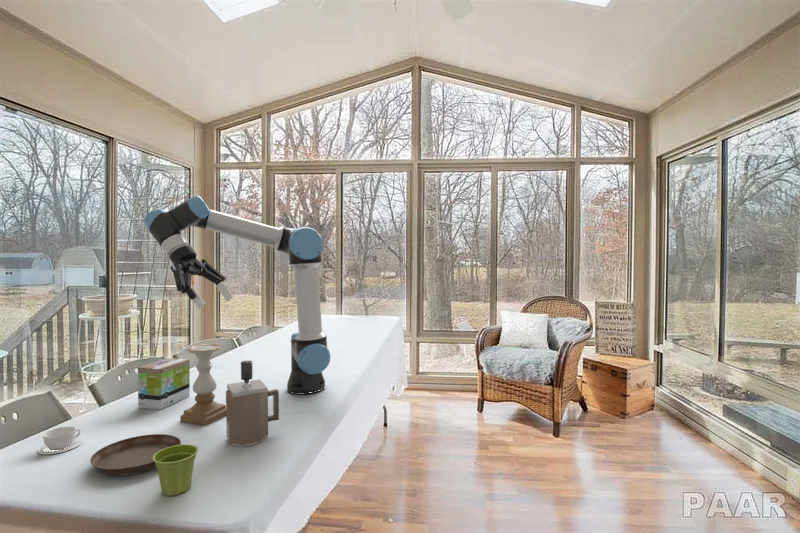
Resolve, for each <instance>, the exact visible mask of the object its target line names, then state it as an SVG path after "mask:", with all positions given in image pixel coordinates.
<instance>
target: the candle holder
mask: <svg viewBox="0 0 800 533" xmlns="http://www.w3.org/2000/svg"><path fill="white" fill-rule="evenodd" d="M220 349H221V345H220V344H217V343H216V344H215V343H204V344H196V345H192V346H188V348H187V349H186V351H187V353H189V354H194V355H195V356H196V358H197V360H198V362H197V364H196V365H195V369H197V372H198V375H197V378H196V379H195V381H194V382H193V384H192V391H193V393H195V394H196V395H195V397H194V401H195V404H192V406H191V407H189V408H187V409H185V410H184V411H183V414H182V415H180V416H179V419H180V420H179V421H180V423H181V422H182V423H186V424H192V425H193V424H194V425H200V426H208V425H211V424H212V423H215V422H216V421H218V420H221V419H222V418H224V417H226V404H223V403H218V402H217V401H215V400H214V399H215V397H216V395H215V393H214V391H215V390H216V389H217V382H216V380H215V379H214V377H213V376H212V374H211V370H212V367H213V365H214V364H213V363H212V362H211V357H212V355H213V354H214V352H218V351H220Z"/></svg>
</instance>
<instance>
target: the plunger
mask: <svg viewBox="0 0 800 533" xmlns="http://www.w3.org/2000/svg"><path fill="white" fill-rule="evenodd" d="M252 379H253V361H252V360H243V361H241V362H240V380H242V381H243V382H244V388H245V387H250V381H251V380H252ZM244 396H245V395H244Z"/></svg>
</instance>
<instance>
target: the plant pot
mask: <svg viewBox="0 0 800 533" xmlns="http://www.w3.org/2000/svg"><path fill="white" fill-rule="evenodd" d="M198 452H199V448H198V447H197V445H194V444H187V443H186V444H181V445H175V446H171V447H167V448H165V449H162V450H160V451H158V452H157V453H155V454H154V456H153V461H154V462H155V464H156V469H157V474H158V479H159V484H160V490H161V493H162V494H163V495H164V496H166V497H169V496H170V497H171V496H177V495H179V494H181V493H186V492H187V491H188V490H189V489H191V486H192V480H193V472H194V464H195V459H196V457H197V454H198Z"/></svg>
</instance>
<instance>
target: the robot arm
mask: <svg viewBox="0 0 800 533" xmlns="http://www.w3.org/2000/svg"><path fill="white" fill-rule="evenodd" d="M208 206H209V205H207V204H206V202H205V201H204V200H203V198H202V197H201V196H200V195H195V196H193V197H191V198H188V199H187V200H186V201H184V202H182V203H180V204H179V205H177V206H175V207H174V208H172V209H169V211H165V210H164V209H162V208H161V209H160V208H157V209H155V210H151V211H150V212H148V213H147V214H146V215H145V216H144V218H143V223H144V224H145V226H146V228H147V230H148V232H149V233H150V234H151V235H152V237H153V238H154V239H155V241H156V242H157V243H158V245H159V246H160V248H161V249H162V250H163V252H164V253H165V254H166V255H167V257H169V260H170V261H171V263H172V265H171V266H170V270H171V272H172V273H173V278H174V282H175V287H176V290H177V291H178V292H181V293H182V294H183V295H184V294H186V295H187V296H188V298H189V299H190V300H192V302H193V304H194V305H195V306H196V307H197V309H198V310H200V309H202V308H203V307H204V306H205V305H206V302H205V300H204V299H203V298H202V296H201V294H200V293H199V292H198V290H196V288H195V287H194V286H192V276H198V277H203V278H204V279H206V280H208V281H209V282H211V283H213V284H215V285H216V289H217V290H218V292H219V293H220V294H221V295H222V296H223V299H225V301H226V302H229V301H230V300H232V299H233V298H234V295H233V293H232V292H231V291H230V290H229V287H227V285H226V284H225V282H224V281H225V280H226V278H227V277H225V276H224V274H222V273H221V272H219V271H218V270H217V269H216V268H215V267H213V266H212V265H211V264H209V262H207V260H206V259H204V258H203V259H201V261H200V260H198V259H197V253H196V251H195V250H194V248H193V247H192V246H191V245H190V243H189V242H188V240H187V239H186V237H185V236H184V235H183V234H182V231H185V230H186V229H187V228H189V227H196V228H200V229H203V230H208V231H212V232H215V233H220V234H222V235H223V234H224V235H227V236H230V237H235V238H238V239H242V240H246V241H250V242H253V243H258V244H260V245H266V246H269V247H272V248H274V250H276V252H277V251H278V252H280V253H281V252H282V253H284V254H286V255H288V259H289V260H288V262H289V266H291V268H293V270H294V273H293V274H294V285H295V296H296V298H295V299H296V300H295V301H296V311H297V313H296V314H297V324H298V325H297V327H298V332H294V333H292V334H291V337H290V338H291V339H290V347H291V348H290V351H291V352H290V355H291V356H290V361H291V362H290V363H291V366H290V367H291V368H290V369H291V371H290V375H289V378H288V379H287V380H288V381H287V384H286V390H288V391H290V392H293V393H292V394H294V393H309V392H315V391H318V390H321V389H323V388H324V387H325V388H326V380H325V378H324V375H323V372H324V371H325V370H326V369H327V367H328V366H329V365H330V362H331V353H330V350H329V348H328V340H327V339H328V338H327V337H328V336H327V333H325V332H324V331H323V328H322V327H323V326H322V324H323V323H322V312H321V296H320V293H321V292H320V284H319V283H320V282H319V281H320V280H319V266H320V265H322V251H323V246H324V245H323V244H324V242H323V238H322V236H321V234H320V233H319V232H318V231H317V230H316V229H314V228H312V227H309V226H301V227H297V228H288V227H286V226H280V227H276V226H272V225H268V224H264V223H261V222H257V221H253V220H250V219H246V218H243V217H240V216H235V215H232V214H229V213H224V212H220V211H217V210H213V209H210V207H208ZM323 390H324V389H323ZM288 391H287V392H288ZM290 392H289V393H290Z"/></svg>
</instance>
